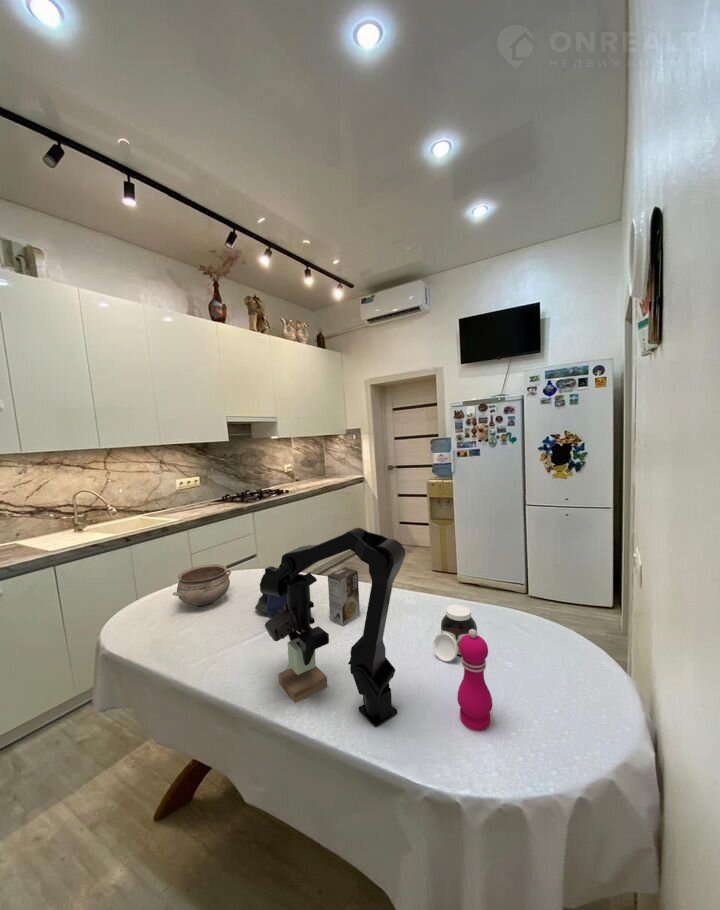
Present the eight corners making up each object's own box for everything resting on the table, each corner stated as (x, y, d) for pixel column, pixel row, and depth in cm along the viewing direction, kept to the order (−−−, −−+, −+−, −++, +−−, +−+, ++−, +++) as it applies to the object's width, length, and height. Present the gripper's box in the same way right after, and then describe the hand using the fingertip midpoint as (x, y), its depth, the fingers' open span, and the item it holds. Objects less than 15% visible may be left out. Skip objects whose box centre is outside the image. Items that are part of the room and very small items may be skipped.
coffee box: (346, 610, 129) (344, 566, 129) (360, 615, 125) (358, 570, 125) (329, 621, 122) (326, 574, 122) (343, 626, 118) (340, 578, 118)
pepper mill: (485, 705, 82) (483, 620, 81) (498, 731, 74) (496, 637, 73) (453, 707, 81) (451, 621, 80) (464, 734, 74) (461, 639, 73)
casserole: (280, 586, 153) (279, 567, 153) (319, 591, 147) (318, 571, 147) (242, 614, 130) (241, 591, 129) (288, 621, 123) (286, 597, 123)
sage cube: (315, 666, 90) (314, 643, 90) (297, 675, 87) (296, 651, 87) (306, 657, 94) (305, 635, 94) (288, 665, 91) (287, 642, 91)
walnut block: (327, 688, 90) (326, 676, 90) (294, 705, 85) (294, 692, 85) (310, 670, 97) (309, 659, 97) (279, 685, 92) (278, 673, 92)
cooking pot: (215, 586, 156) (214, 559, 155) (246, 594, 146) (245, 565, 146) (159, 612, 134) (157, 580, 134) (191, 623, 125) (189, 588, 124)
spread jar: (477, 644, 106) (476, 605, 105) (479, 668, 95) (478, 625, 94) (435, 639, 109) (434, 602, 108) (432, 662, 98) (431, 620, 97)
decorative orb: (283, 626, 110) (301, 577, 117) (250, 615, 118) (269, 570, 125) (309, 636, 120) (324, 590, 127) (276, 625, 128) (292, 582, 135)
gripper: (254, 596, 93) (257, 655, 93) (284, 624, 78) (288, 694, 78) (293, 584, 99) (296, 639, 100) (328, 608, 84) (331, 672, 85)
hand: (301, 659), depth 91 cm, fingers closed on sage cube, 5 cm apart
